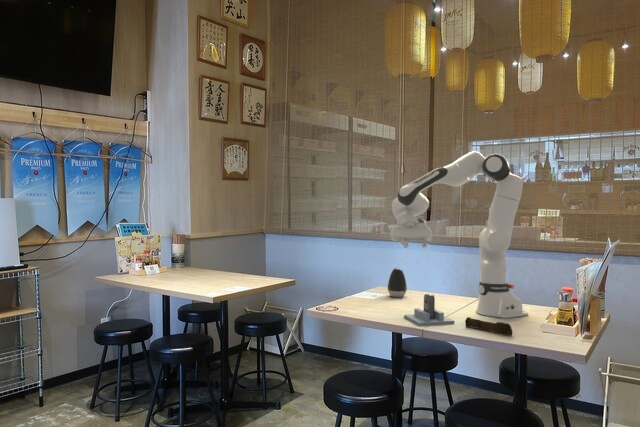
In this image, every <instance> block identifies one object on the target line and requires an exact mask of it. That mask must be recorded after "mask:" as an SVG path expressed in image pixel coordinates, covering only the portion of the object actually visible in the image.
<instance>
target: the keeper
mask: <svg viewBox="0 0 640 427" xmlns="http://www.w3.org/2000/svg"><path fill="white" fill-rule="evenodd" d="M413 310H414V311H413V312H414V314H412V313H411V314H410V313H409V314H404V319H406V320H408V321H410V322H411V321H412V322H411V323H413V324H415V325H417V326H418V325H419V326H421V327H423V326H434V325H453V324H455V320H454V319H451V318H449V317H447V316H445V313H444V312H442V311H441V310H439V309H437V308H435V311H434V319H430V314H429V313H427V312H425V311H424V309H421V308H419V307H418V308H414V309H413Z"/></svg>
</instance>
